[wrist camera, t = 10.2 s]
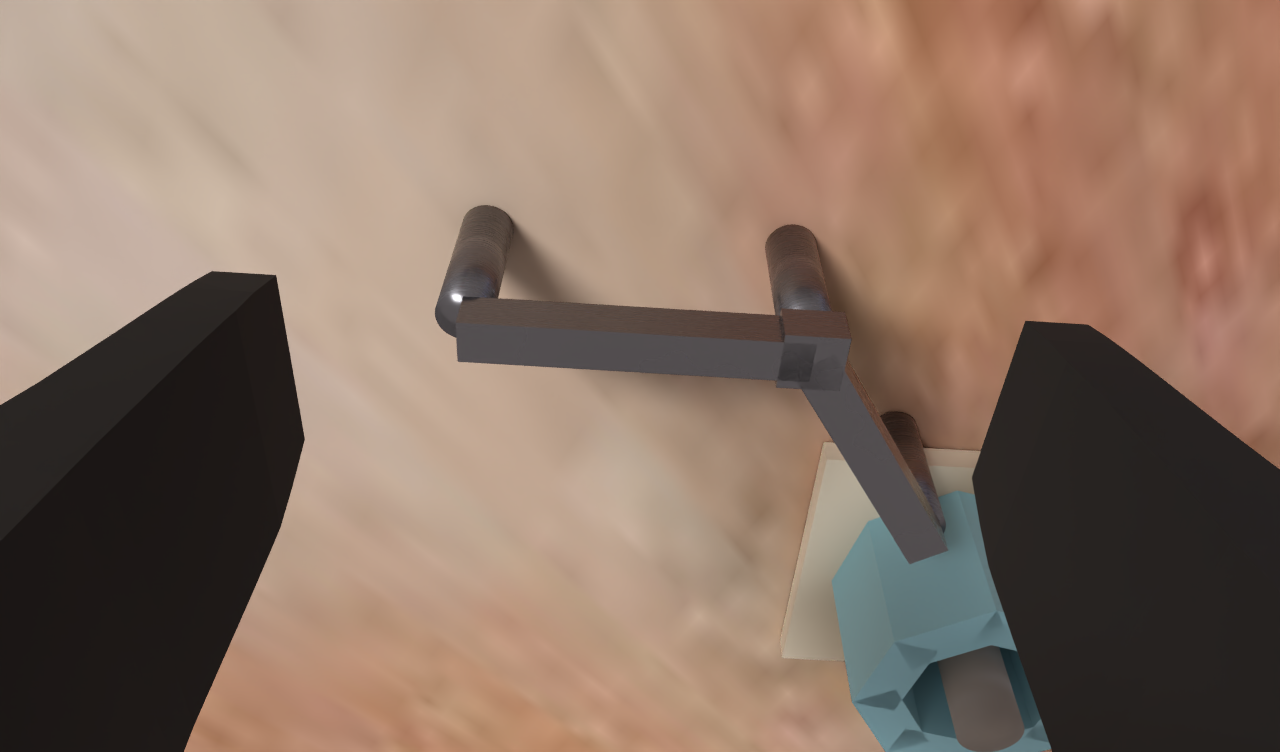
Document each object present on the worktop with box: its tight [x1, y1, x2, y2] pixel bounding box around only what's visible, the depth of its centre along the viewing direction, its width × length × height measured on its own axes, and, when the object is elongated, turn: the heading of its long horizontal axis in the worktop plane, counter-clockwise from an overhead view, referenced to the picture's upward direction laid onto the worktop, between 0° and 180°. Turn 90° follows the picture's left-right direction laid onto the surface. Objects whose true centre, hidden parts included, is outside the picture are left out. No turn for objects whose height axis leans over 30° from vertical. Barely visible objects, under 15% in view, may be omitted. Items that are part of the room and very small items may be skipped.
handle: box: [435, 205, 948, 564], centre depth 20 cm, size 10×6×4 cm, turn 87°
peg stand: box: [780, 442, 1025, 752], centre depth 24 cm, size 7×7×5 cm
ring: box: [832, 490, 1051, 752], centre depth 24 cm, size 5×5×4 cm
